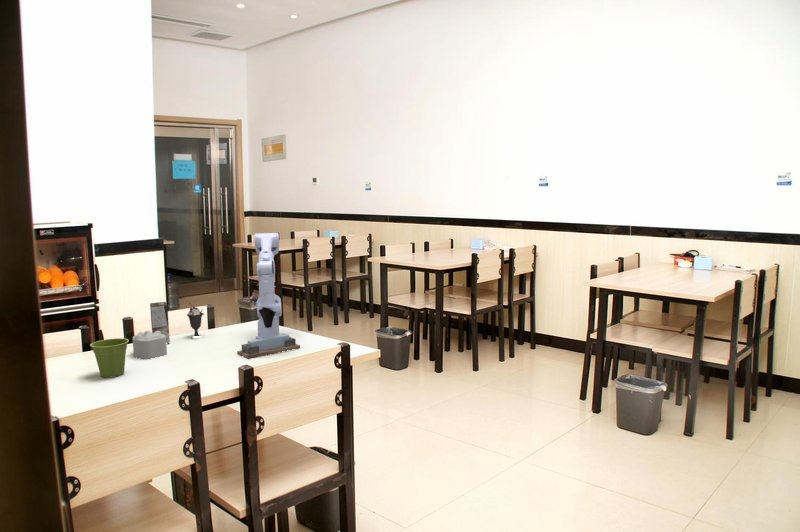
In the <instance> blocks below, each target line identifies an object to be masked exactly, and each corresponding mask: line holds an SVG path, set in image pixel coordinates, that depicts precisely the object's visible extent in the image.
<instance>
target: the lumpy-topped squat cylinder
mask: <svg viewBox="0 0 800 532" xmlns="http://www.w3.org/2000/svg"><path fill="white" fill-rule="evenodd" d="M167 345H168V344H166V336H165V335H163V334H161V332H160V331H155V332H154V333H152V331H150V330H146V331H144V332H142V331H140V332H138V333H137V334H135V335H134V336H132V348H133V350H132V351H133V352H132V353H133V357H134V358H136V357H137V358H136V359H139V358H140V359H139V360H151V358H153V359H156V358H155V357H157V358H161V357H160V356H162V357H165V356H164V355H166V356H167V355H168V349H167Z"/></svg>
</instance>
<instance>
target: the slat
mask: <svg viewBox="0 0 800 532" xmlns="http://www.w3.org/2000/svg"><path fill="white" fill-rule="evenodd" d="M289 337H290V335H289V334H286V333H284V334H279V335H277V336H272V337H266V338H261V339H258V338H256V339H252V340H251V339H250V340H247V344H248V346H249V347H253V346H259V351H263V350H268V349H273V348H279V347H284V346H285V340H289Z"/></svg>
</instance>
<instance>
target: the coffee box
mask: <svg viewBox="0 0 800 532" xmlns="http://www.w3.org/2000/svg"><path fill="white" fill-rule="evenodd" d="M149 306H150V307H149V310H150V322H151V323H150V324H151V333H154V332H155V331H160V332H161V334H163V335H165V336H166V343H169V342H170V341H171V340H170V327H169V326H170V325H169V324H170V322H169V310H168V309H169V307H168V303H167V301H160V302H151V303H150V305H149ZM170 343H171V342H170Z"/></svg>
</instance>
